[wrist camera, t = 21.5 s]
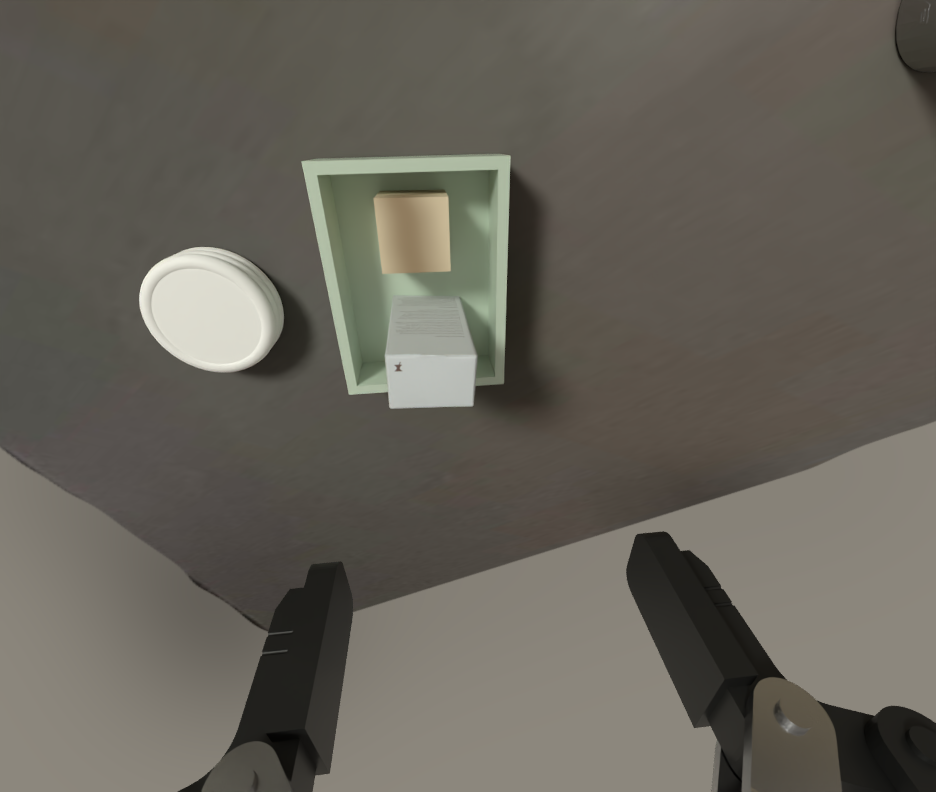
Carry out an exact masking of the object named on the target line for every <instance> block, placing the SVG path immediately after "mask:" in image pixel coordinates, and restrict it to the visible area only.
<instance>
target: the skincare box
mask: <svg viewBox="0 0 936 792" xmlns="http://www.w3.org/2000/svg"><path fill="white" fill-rule="evenodd" d="M477 359H478V355H477V352H476V349H475V346H474V343H473V339H472V336H471V333H470V329H469V326H468V322H467V319H466V315H465V312H464V308H463V305H462V301H461V298H460V297H459V296H408V295H394V296H393V300H392V308H391V315H390V322H389V330H388V337H387V346H386V352H385V364H386V375H387V386H388V398H389V407H390V408H391V409H395V408H428V407H460V406H473V405H474V396H475V385H476V373H477Z"/></svg>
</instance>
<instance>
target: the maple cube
mask: <svg viewBox="0 0 936 792" xmlns="http://www.w3.org/2000/svg"><path fill="white" fill-rule="evenodd" d="M373 199H374V207H375V216H376V224H377V233H378V241H379V250H380V258H381V266H382V274H394V273H421V272H448V271H451V264H450V232H449V201H448V195H447V193H446V191H445V190H399V191H379V192H378V193H377V195H376V196H375V197H374V198H373Z"/></svg>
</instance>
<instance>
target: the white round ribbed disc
mask: <svg viewBox="0 0 936 792" xmlns="http://www.w3.org/2000/svg"><path fill="white" fill-rule="evenodd" d="M139 303H140V310H141V313H142V317H143V319H144V321H145V324H146V326H147V327H148V329H149V331H150V332H151V334H152V335H153V336H154V338H155V339H156V340H157V341H158V342H159V343H160V344H161V345H162V346H163V347H164V348H165V349H166V350H167V351H169V352H170V353H171V354H172V355H174V356H175V357H177V358H178V359H180V360H182V361H183V362H185V363H187V364H189V365H192V366H194V367H197V368H200V369H203V370H207V371H212V372H235V371H240V370H244V369H246V368H249V367H251V366H253V365H255V364H256V363H258V362H259V361H261V360H262V359H263V358H264V357H265V356H266V355H267V354H268V353H269V351H270V349H271V348H272V347H273V346H274V344H275V343H276V342H277V340H278V338H279V337H280V334H281V332H282V328H283V324H284V312H283V306H282V302H281V299H280V296H279V294H278V292H277V290H276V288H275V286H274V285H273V284H272V282H271V281H270V279H269V278H268V277H267V276H266V275H265V274H264V273H263V272H262V271H261V270H260V269H259V268H258V267H257V266H255V265H254V264H253V263H252V262H250V261H248V260H247V259H245V258H244V257H242V256H240V255H238V254H235V253H233V252H230V251H227V250H223V249H219V248H212V247H197V248H190V249H187V250H183V251H181V252H179V253H177V254H175V255H173V256H171V257H168V258H166V259H164V260H162V261H160V262H159V263H158V264H156V265H155V266H154V267H153V268H152V269H151V270H150V271H149V272H148V274H147V275H146V277H145V278H144V280H143V283H142V285H141V289H140V296H139Z"/></svg>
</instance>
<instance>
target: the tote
mask: <svg viewBox="0 0 936 792" xmlns="http://www.w3.org/2000/svg"><path fill="white" fill-rule="evenodd" d="M302 166H303V171H304V176H305V181H306V186H307V191H308V196H309V201H310V205H311V210H312V215H313V220H314V225H315V230H316V235H317V240H318V245H319V250H320V255H321V260H322V264H323V269H324V274H325V279H326V284H327V289H328V294H329V299H330V304H331V309H332V314H333V319H334V323H335V328H336V333H337V338H338V343H339V348H340V353H341V358H342V363H343V368H344V373H345V377H346V382H347V387H348V392H349V395H352V394H366V393H380V392H388V386H387V375H386V364H385V352H386V346H387V337H388V330H389V322H390V315H391V308H392V300H393V296H394V295H408V296H459V297H460V298H461V301H462V305H463V308H464V312H465V315H466V319H467V322H468V326H469V329H470V333H471V336H472V339H473V343H474V346H475V349H476V352H477V355H478V359H477V373H476V385H475V386H481V385H495V384H504V364H505V329H506V294H507V259H508V224H509V190H510V155H503V154H471V155H435V156H398V157H362V158H325V159H313V160H307V161H302ZM399 190H445V191H446V193H447V195H448V201H449V232H450V264H451V271H448V272H421V273H394V274H382V266H381V258H380V250H379V241H378V233H377V224H376V216H375V207H374V199H373V198H374V197H375V196H376V195H377V193H378V192H379V191H399Z"/></svg>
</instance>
